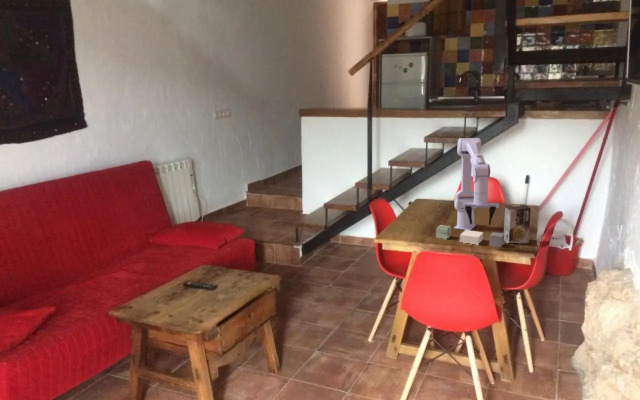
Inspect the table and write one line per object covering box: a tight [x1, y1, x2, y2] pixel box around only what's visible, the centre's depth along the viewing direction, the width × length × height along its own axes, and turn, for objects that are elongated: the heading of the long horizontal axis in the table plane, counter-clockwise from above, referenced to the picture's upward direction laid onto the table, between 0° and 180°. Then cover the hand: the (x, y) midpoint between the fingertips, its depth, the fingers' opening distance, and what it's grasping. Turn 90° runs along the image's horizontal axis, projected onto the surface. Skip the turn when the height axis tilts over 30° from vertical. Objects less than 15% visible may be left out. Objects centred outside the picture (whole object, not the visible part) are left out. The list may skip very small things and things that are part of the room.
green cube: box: [435, 224, 452, 240], centre depth 233 cm, size 5×5×5 cm
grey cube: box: [488, 231, 505, 248], centre depth 220 cm, size 5×5×5 cm
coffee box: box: [503, 204, 531, 244], centre depth 223 cm, size 9×6×16 cm
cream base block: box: [459, 230, 484, 246], centre depth 226 cm, size 8×8×4 cm
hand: (480, 224), depth 216 cm, fingers open, 7 cm apart
